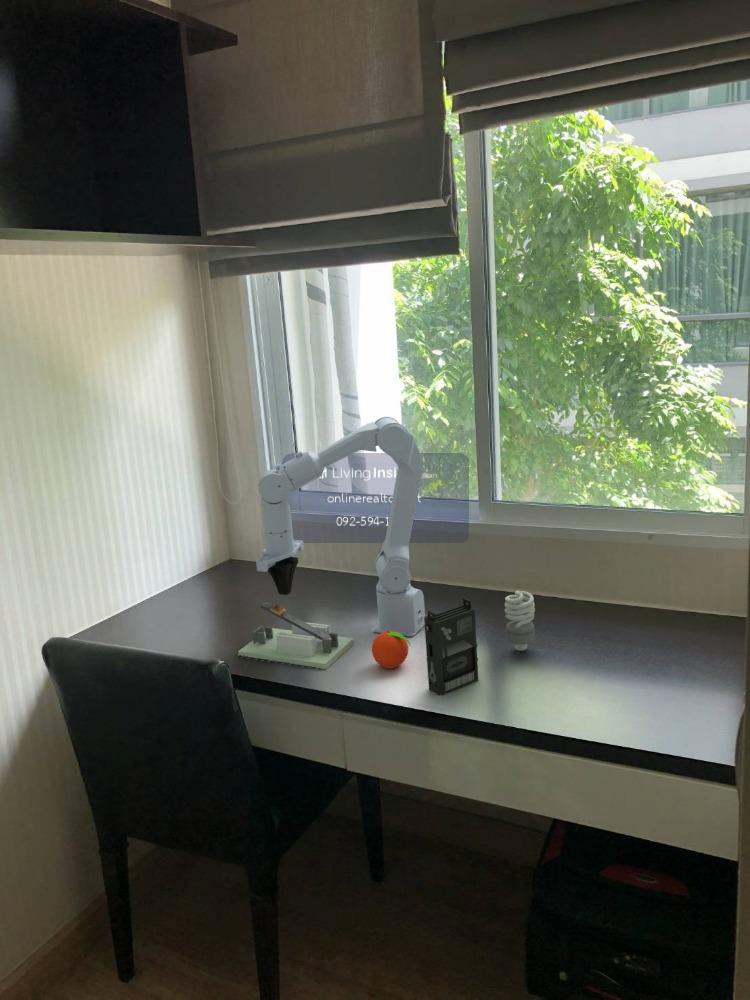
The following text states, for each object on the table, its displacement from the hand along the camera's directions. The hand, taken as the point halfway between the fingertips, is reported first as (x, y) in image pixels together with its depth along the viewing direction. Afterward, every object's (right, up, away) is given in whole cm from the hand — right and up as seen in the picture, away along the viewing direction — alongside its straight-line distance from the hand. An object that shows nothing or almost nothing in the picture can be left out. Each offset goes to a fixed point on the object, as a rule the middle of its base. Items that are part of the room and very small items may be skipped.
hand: (284, 593), depth 164 cm
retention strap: (+3, -6, -4) cm, 7 cm away
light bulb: (+46, -10, -10) cm, 49 cm away
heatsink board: (+3, -11, -2) cm, 12 cm away
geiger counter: (+32, -14, -21) cm, 41 cm away
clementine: (+22, -13, -12) cm, 28 cm away
